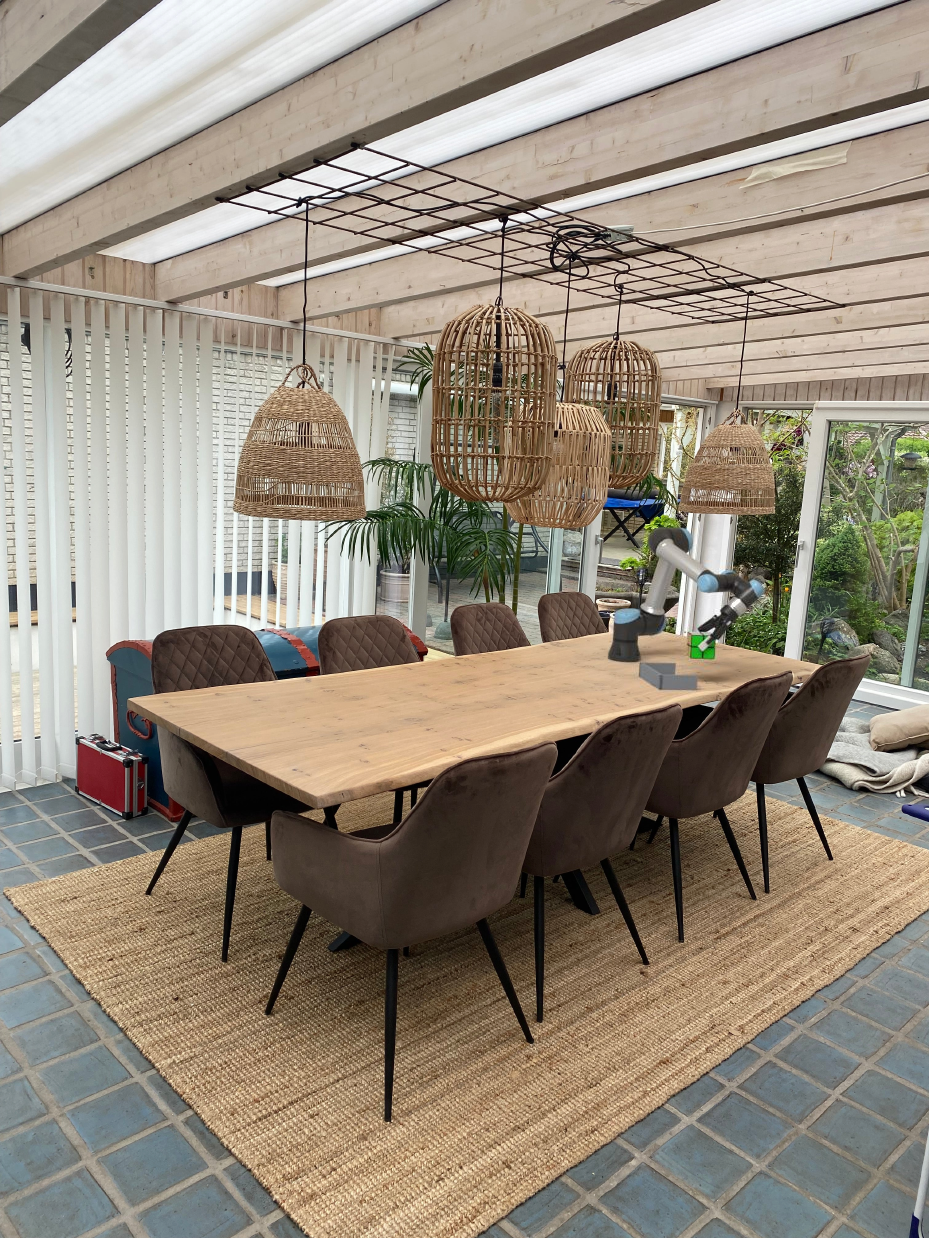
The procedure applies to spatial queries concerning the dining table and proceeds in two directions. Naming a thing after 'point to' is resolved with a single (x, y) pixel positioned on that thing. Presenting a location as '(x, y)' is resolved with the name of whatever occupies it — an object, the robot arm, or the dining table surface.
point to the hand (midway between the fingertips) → (694, 646)
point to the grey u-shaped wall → (666, 677)
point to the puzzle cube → (694, 641)
